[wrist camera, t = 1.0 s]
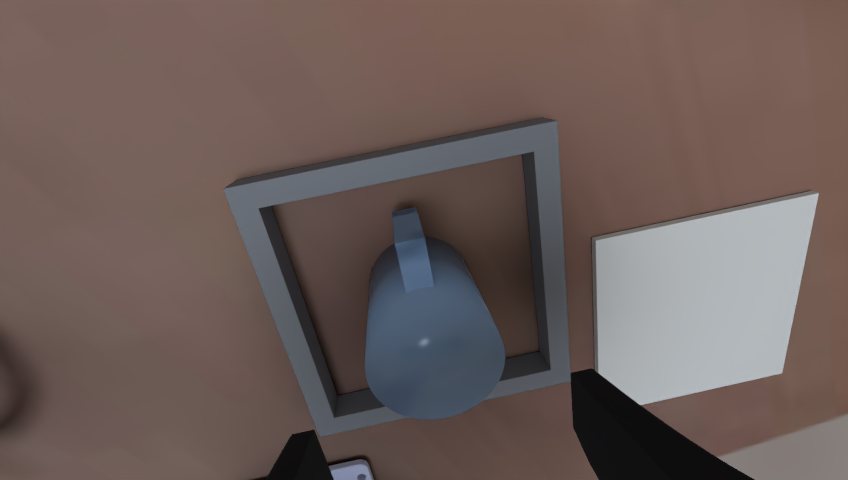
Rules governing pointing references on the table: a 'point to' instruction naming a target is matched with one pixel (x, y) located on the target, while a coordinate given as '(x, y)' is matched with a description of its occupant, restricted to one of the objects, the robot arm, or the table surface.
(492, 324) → the blue-grey mug
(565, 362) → the grey square frame
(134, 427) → the table surface
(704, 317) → the mat
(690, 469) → the robot arm
